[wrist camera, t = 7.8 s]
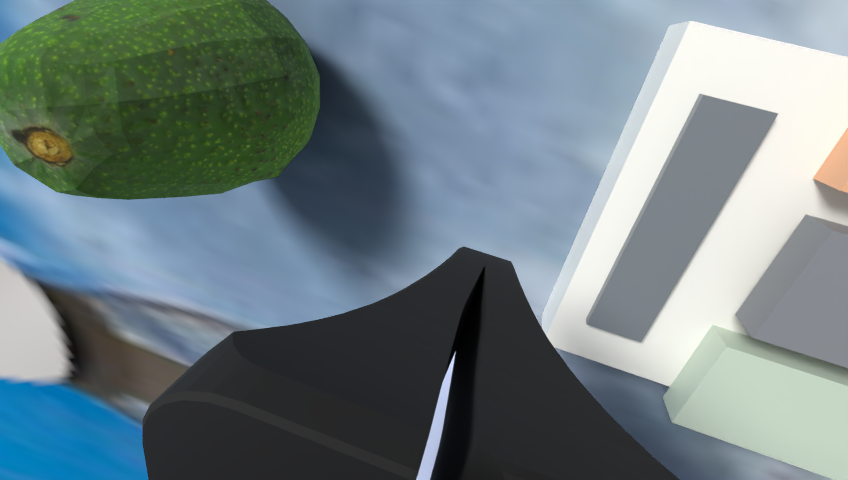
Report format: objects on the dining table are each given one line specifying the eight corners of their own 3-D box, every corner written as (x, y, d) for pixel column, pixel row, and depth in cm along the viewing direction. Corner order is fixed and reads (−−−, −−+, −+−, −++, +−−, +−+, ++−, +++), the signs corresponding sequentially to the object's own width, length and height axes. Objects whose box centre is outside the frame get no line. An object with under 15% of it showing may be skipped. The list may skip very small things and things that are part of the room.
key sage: (845, 460, 18) (869, 492, 17) (662, 397, 19) (671, 422, 18) (920, 391, 16) (954, 420, 15) (712, 324, 17) (726, 346, 16)
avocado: (238, 166, 23) (-16, 261, 13) (188, 8, 20) (-198, -42, 10) (370, 152, 21) (196, 254, 10) (335, -28, 18) (41, -147, 7)
